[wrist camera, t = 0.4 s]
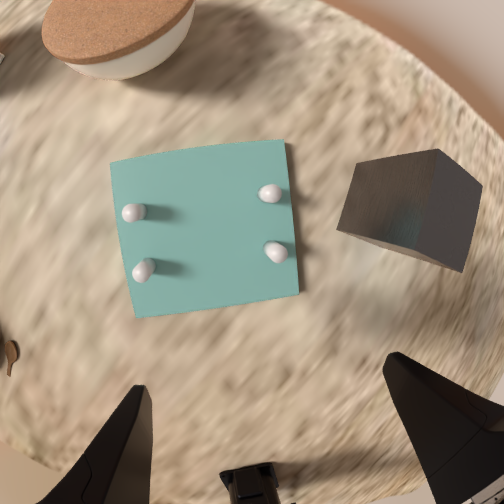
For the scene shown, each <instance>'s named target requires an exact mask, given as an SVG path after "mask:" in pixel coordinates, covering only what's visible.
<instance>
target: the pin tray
mask: <svg viewBox="0 0 504 504" xmlns="http://www.w3.org/2000/svg"><path fill="white" fill-rule="evenodd" d="M110 170H111V181H112V190H113V199H114V207H115V215H116V222H117V228H118V235H119V241H120V247H121V252H122V258H123V263H124V268H125V273H126V278H127V282H128V287H129V291H130V295H131V300H132V304H133V308H134V312H135V316H136V318H142V317H151V316H160V315H168V314H176V313H184V312H192V311H199V310H206V309H213V308H220V307H227V306H234V305H240V304H246V303H253V302H259V301H265V300H271V299H276V298H282V297H288V296H293V295H299V286H298V272H297V260H296V248H295V236H294V226H293V215H292V206H291V196H290V187H289V178H288V169H287V161H286V153H285V145H284V139H281V140H264V141H251V142H239V143H229V144H219V145H211V146H203V147H195V148H188V149H181V150H175V151H168V152H162V153H157V154H151V155H146V156H140V157H135V158H130V159H126V160H121V161H116V162H112V163H110Z"/></svg>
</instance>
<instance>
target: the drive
mask: <svg viewBox="0 0 504 504" xmlns="http://www.w3.org/2000/svg"><path fill="white" fill-rule="evenodd" d="M482 187H483V186H482V185H481V184H480V183H479V182H478V181H477V180H476V179H475V178H474V177H472V176H471V175H470V174H469V173H468V172H467V171H466V170H464V169H463V168H462V167H461V166H460V165H458V164H457V163H456V162H455V161H454V160H452V159H451V158H450V157H449V156H447V155H446V154H445V153H444V152H442V151H441V150H440V149H433V150H426V151H420V152H414V153H408V154H402V155H397V156H391V157H386V158H381V159H376V160H371V161H366V162H361V163H356V167H355V171H354V174H353V178H352V181H351V184H350V188H349V191H348V194H347V198H346V201H345V204H344V208H343V211H342V214H341V217H340V220H339V223H338V226H337V229H336V230H338V231H341V232H344V233H346V234H349V235H351V236H354V237H356V238H359V239H362V240H364V241H367V242H369V243H372V244H374V245H377V246H379V247H382V248H385V249H388V250H391V251H395V252H398V253H401V254H404V255H408V256H411V257H414V258H417V259H420V260H423V261H427V262H430V263H433V264H436V265H439V266H442V267H445V268H448V269H451V270H454V271H457V272H460V273H462V271H463V268H464V265H465V262H466V258H467V255H468V251H469V248H470V244H471V240H472V236H473V232H474V228H475V224H476V219H477V214H478V209H479V204H480V199H481V193H482Z"/></svg>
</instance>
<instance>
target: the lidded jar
mask: <svg viewBox="0 0 504 504" xmlns="http://www.w3.org/2000/svg"><path fill="white" fill-rule="evenodd" d="M194 9H195V0H53V1H52V3H51V5H50V6H49V8H48V10H47V12H46V14H45V17H44V21H43V25H42V40H43V43H44V45H45V47H46V48H47V49H48V50H49V51H50V53H51V54H52V55H54V56H55V57H56V58H58V59H60V60H61V61H63V62H64V63H65V64H66V65H68V66H69V67H70V68H72V69H74V70H75V71H77V72H79V73H81V74H83V75H86V76H89V77H91V78H94V79H100V80H122V79H127V78H132V77H135V76H138V75H141V74H143V73H145V72H147V71H149V70H152V69H153V68H155V67H156V66H158V65H160V64H161V63H162V62H164V61H165V60H166V59H168V58H169V57H170V56H171V55H172V54H173V53H174V52H175V51H176V49H177V48H178V47H179V46H180V44H181V43H182V42H183V40H184V38H185V37H186V35H187V33H188V30H189V28H190V25H191V23H192V19H193V15H194Z"/></svg>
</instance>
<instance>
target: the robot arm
mask: <svg viewBox="0 0 504 504" xmlns="http://www.w3.org/2000/svg"><path fill="white" fill-rule="evenodd" d="M383 375H384V378H385V380H386V383H387V386H388V389H389V392H390V395H391V398H392V400H393V403H394V405H395V407H396V410H397V412H398V414H399V416H400V418H401V420H402V423H403V425H404V427H405V429H406V431H407V434H408V436H409V438H410V440H411V443H412V445H413V447H414V449H415V452H416V454H417V456H418V459H419V461H420V464H421V466H422V468H423V471H424V473H425V476H426V478H427V481H428V483H429V486H430V488H431V491H432V494H433V496H434V499H435V502H436V504H462V503H463V502H465V501H467V500H468V499H470V498H471V500H472V502H471V503H470V504H504V406H502V405H499V404H497V403H494V402H492V401H490V400H487V399H485V398H483V397H481V396H479V395H477V394H475V393H473V392H471V391H469V390H467V389H464V388H463V387H462V386H460V385H458V384H456V383H454V382H452V381H451V380H449V379H447V378H445V377H443V376H442V375H440V374H438V373H436V372H434V371H433V370H431V369H429V368H427V367H425V366H424V365H422V364H420V363H418V362H416V361H415V360H413V359H411V358H409V357H407V356H406V355H404V354H402V353H400V352H393V353H389V354H388V356H387V358H386V361H385V363H384V366H383ZM152 447H153V428H152V401H151V397H150V395H149V392H148V390H147V388H146V386H145V385H134V386H133V387H132V388H131V389H130V391H129V392H128V393H127V395H126V396H125V397H124V399H123V400H122V401H121V403H120V404H119V405H118V407H117V408H116V409H115V411H114V412H113V413H112V415H111V416H110V417H109V419H108V420H107V421H106V423H105V424H104V426H103V427H102V428H101V430H100V431H99V432H98V434H97V435H96V436H95V438H94V439H93V440H92V442H91V443H90V445H89V446H88V447H87V449H86V450H85V451H84V454H82V455H81V457H80V458H79V460H78V461H77V462H76V463H75V465H74V466H73V467H72V469H71V470H70V471H69V472H68V473H67V474H66V475H65V477H64V478H63V479H62V480H61V481H60V482H59V483H58V484H57V485H56V486H55V487H54V488H53V489H52V490H51V492H49V493H48V494H47V495H46V497H44V498H43V499H42V500H41V501H39V502H38V503H36V504H149V494H150V475H151V460H152ZM219 475H220V478H221V480H222V482H223V483H224V485H225V486H226V488H227V490H228V491H229V495H230V501H231V504H281V503H280V500H279V496H278V493H277V490H276V488H277V487H279V484H278V481H277V478H276V475H275V472H274V469H273V466H272V464H271V463H266V464H261V465H257V466H252V467H248V468H243V469H237V470H232V471H226V472H221V473H220V474H219ZM291 504H296V503H291Z"/></svg>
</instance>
